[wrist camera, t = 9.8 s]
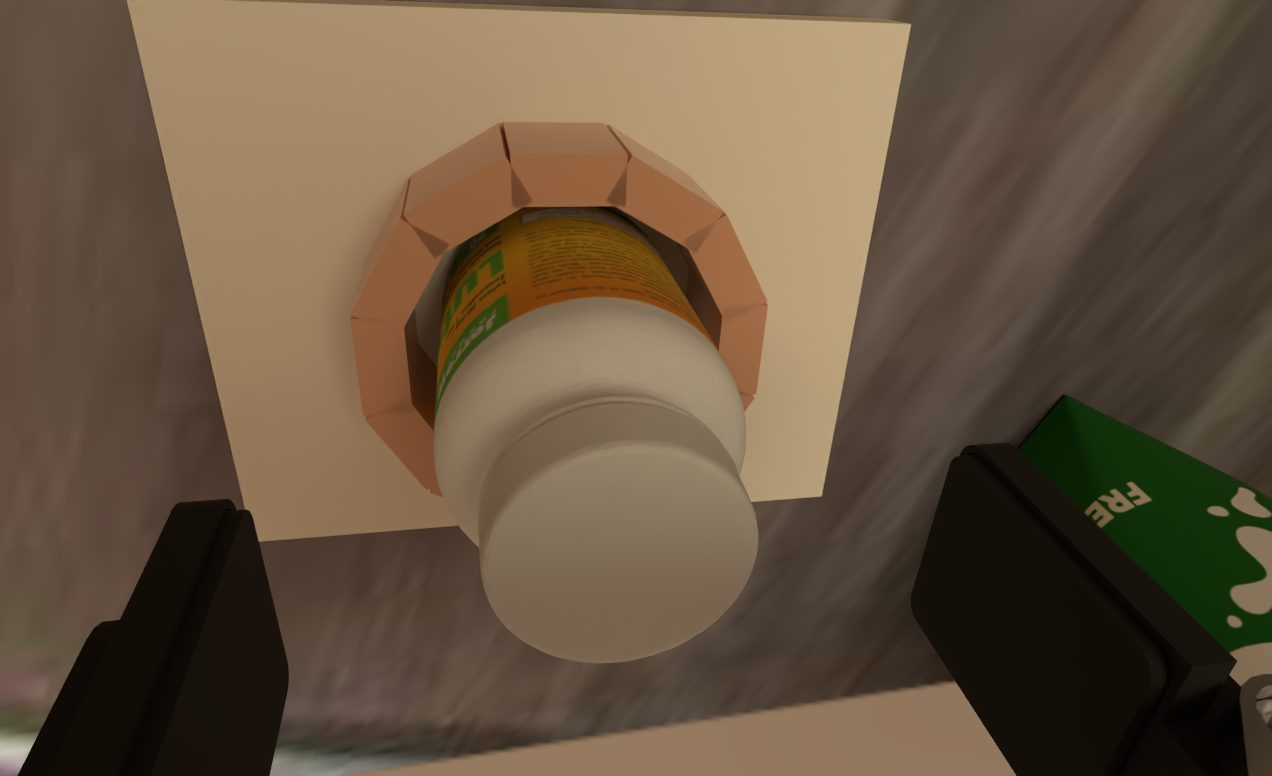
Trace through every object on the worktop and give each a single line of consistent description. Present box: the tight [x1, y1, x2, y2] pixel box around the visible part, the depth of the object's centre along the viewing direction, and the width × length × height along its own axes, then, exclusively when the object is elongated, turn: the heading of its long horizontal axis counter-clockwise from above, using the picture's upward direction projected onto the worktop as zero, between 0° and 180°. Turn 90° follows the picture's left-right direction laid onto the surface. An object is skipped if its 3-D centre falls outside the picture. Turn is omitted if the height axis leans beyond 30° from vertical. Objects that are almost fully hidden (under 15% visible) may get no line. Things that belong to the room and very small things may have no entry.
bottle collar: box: [350, 122, 768, 497], centre depth 18 cm, size 9×9×3 cm
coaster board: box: [127, 0, 911, 542], centre depth 20 cm, size 13×16×2 cm
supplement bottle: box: [434, 206, 758, 663], centre depth 15 cm, size 5×5×10 cm
